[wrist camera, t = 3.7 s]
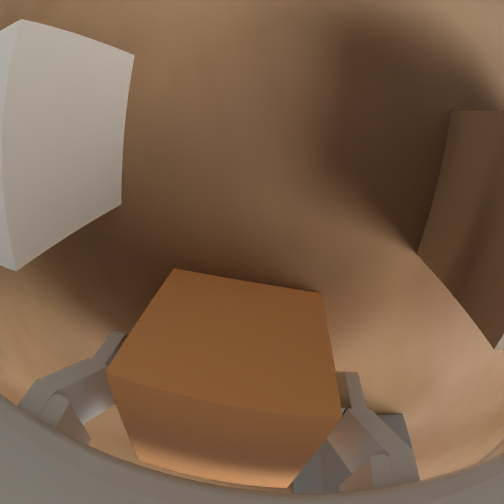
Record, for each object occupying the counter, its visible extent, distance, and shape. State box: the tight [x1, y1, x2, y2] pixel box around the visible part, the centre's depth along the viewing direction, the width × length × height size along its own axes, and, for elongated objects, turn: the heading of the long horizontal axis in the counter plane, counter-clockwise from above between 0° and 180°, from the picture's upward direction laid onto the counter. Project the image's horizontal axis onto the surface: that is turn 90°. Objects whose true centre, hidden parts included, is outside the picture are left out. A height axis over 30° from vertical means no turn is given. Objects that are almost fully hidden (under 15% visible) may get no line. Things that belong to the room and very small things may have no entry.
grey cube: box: [0, 19, 135, 272], centre depth 6 cm, size 5×5×5 cm
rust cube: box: [105, 268, 342, 488], centre depth 8 cm, size 5×5×5 cm
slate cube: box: [293, 414, 420, 493], centre depth 11 cm, size 5×5×5 cm
